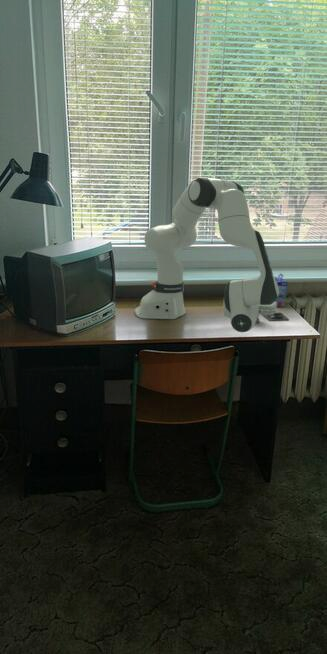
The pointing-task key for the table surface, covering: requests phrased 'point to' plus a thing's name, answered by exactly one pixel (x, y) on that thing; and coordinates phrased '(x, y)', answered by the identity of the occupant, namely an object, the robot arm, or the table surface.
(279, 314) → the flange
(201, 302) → the table surface
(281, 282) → the ink cartridge box
